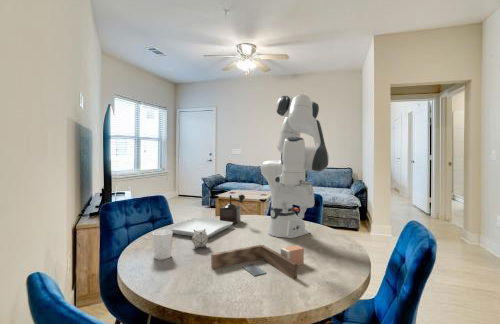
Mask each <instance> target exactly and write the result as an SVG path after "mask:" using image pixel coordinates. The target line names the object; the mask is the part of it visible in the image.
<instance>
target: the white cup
mask: <svg viewBox="0 0 500 324" xmlns="http://www.w3.org/2000/svg"><path fill="white" fill-rule="evenodd" d="M151 233H152V249H153V258H154V259H155V260H166V259H168V258H169V259H170V258H171V257H172V249H173V236H174V235H173V234H174V233H173V231H171V230H165V229H157V230H154V231H153V232H151Z"/></svg>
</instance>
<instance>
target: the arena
mask: <svg viewBox="0 0 500 324" xmlns="http://www.w3.org/2000/svg"><path fill="white" fill-rule="evenodd" d="M210 256H211V257H210V258H211V259H210V260H211V261H210V264H211V265H210V266H211V269H217V268H219V269H220V268H222V267H229V266H232V265H237V264H242V263H246V262H251V261H255V260H263V261H265V262H266V263H267V264H269V265H270V266H272V267H274V269H275V268H276V269H277V270H278V271H280V272H282V273H283V274H285V275H287V276H288V277H289V278H291V279H292V280H295V279H298V266H299V265H298V264H297V263H295V262H293V261H292V260H290V259H288V258H286V257H284V256H283V255H281V253H279V252H277V251H276V250H274V249H271V248H270V247H268V246H266V245H265V244H257V245H252V246H246V247H242V248H236V249H231V250H225V251H219V252H215V253H213V252H212V253H210ZM241 268H243V269H244V270H245V271H246V272H247V273H249V274H250V275H251V276H253V277H258V276H261V275H262V276H263V275H266V274H267V272H266V271H264V269H261V268H260V267H259V266H258V265H256V264H255V263H249V264H245V265H242V266H241Z"/></svg>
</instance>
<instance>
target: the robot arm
mask: <svg viewBox="0 0 500 324" xmlns="http://www.w3.org/2000/svg"><path fill="white" fill-rule="evenodd" d="M319 108H320V107H319V104H318V103H317V102H315V101H312V100H311V98H310V96H308V95H306V94H304V93H303V94H302V93H300V94H298V95H296V96H289V95H282V96H280V97H279V98H278V100H277V101H276V105H275V109H276V113H277V115H279V116H281V117H285V118H284V120H283V121H282V124H281V127H280V130H279V134H278V138H277V144H276V148H277V150H278V151H279V152H280V159H268V160H264V162H262V165H261V166H260V173H261V175H262V177H263V178H264V179H265V180H266V181H267V183H268V185H269V190H270V194H271V197H270V198H271V205H270V210H269V211H270V212H269V213H270V222H269V227H268V231H267V234H268V235H269V236H273V237H277V238H287V239H294V238H295V239H296V238H298V237H302V236H305V235H308V234H310V233H311V232H310V230H309V229H308V228H306V223H305V221H304V220H303V219H304V218H305V213H306V212H307V209H309V208H311V209H312V208H314V206H315V192H314V187H313V185H312V183H311V182H310V181H309V180H308V181H306V171H313V172H322V171H324V170H325V169H326V168H328V166H329V163H330V156H329V152H328V150H327V147H326V142H325V138H324V134H323V129H322V125H321V123H320V121H319V119H317V118H318V116H319V113H320V109H319ZM301 134H306V135H308V136H310V137H311V138H313V143H314V145H313V146H306V142H305V139H304V138H303V137H301ZM294 205H295V206H297V207H294ZM298 207H299V208H298ZM296 212H297V214H296Z"/></svg>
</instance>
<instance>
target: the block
mask: <svg viewBox="0 0 500 324" xmlns="http://www.w3.org/2000/svg"><path fill="white" fill-rule="evenodd" d="M304 249H305V248H304V247H302V246H301V245H298V244H296V245H292V246H291V245H290V246H287V247H281V248H280V254H281V255H283V256H284V257H286V258H288V259H290V260H292V261H293V262H295V263H297V264H298V266H299V265H303V264H304V257H305V253H304V252H305V250H304Z"/></svg>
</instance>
